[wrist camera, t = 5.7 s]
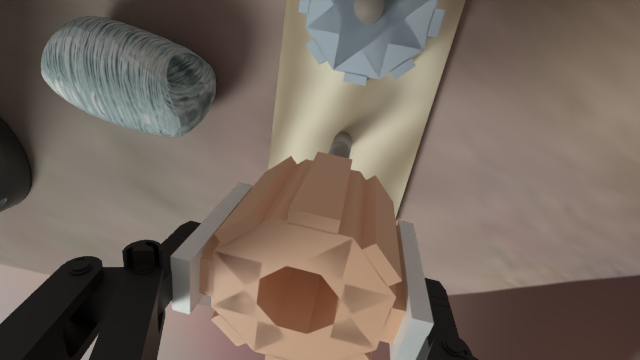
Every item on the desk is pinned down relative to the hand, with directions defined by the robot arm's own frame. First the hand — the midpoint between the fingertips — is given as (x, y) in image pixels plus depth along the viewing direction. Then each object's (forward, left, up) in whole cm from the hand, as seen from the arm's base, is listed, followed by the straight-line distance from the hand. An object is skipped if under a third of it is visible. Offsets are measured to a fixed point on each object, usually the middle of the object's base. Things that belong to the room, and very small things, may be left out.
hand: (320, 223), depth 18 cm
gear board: (0, +4, -15) cm, 16 cm away
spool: (-19, +3, -16) cm, 25 cm away
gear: (0, +11, -15) cm, 18 cm away
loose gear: (0, 0, 0) cm, 0 cm away
